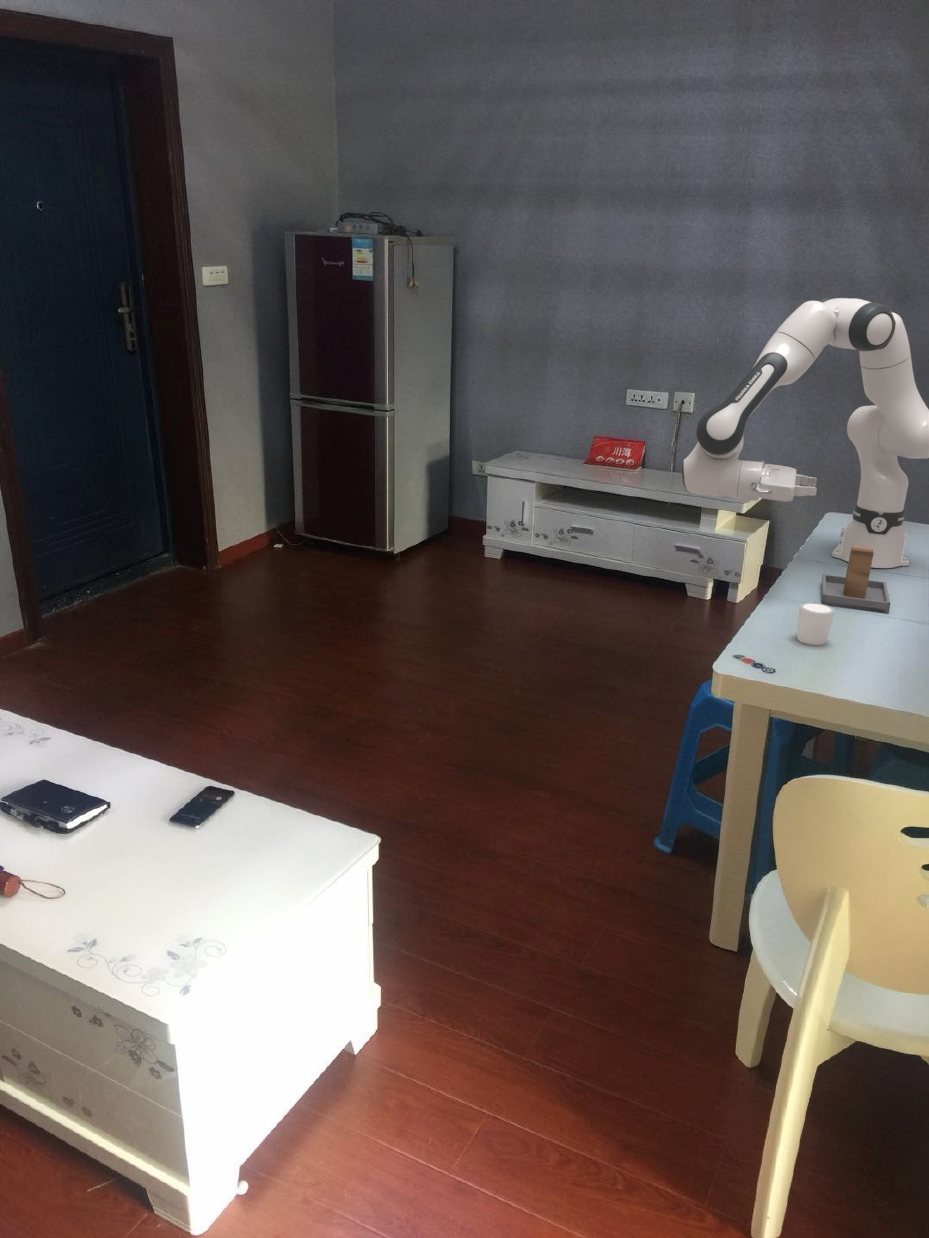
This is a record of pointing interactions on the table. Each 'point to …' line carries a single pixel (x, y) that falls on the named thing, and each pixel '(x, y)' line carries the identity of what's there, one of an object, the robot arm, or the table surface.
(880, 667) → the table surface
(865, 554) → the walnut block
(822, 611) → the white cup
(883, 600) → the charcoal tray
